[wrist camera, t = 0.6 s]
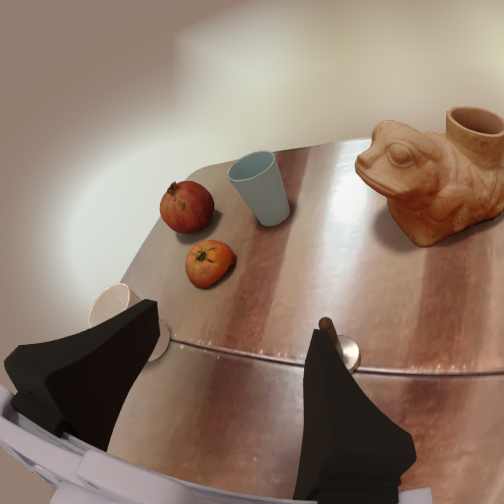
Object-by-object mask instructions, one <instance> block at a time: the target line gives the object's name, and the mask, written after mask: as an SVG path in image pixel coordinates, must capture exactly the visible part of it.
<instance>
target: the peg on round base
mask: <svg viewBox="0 0 504 504" xmlns="http://www.w3.org/2000/svg"><path fill="white" fill-rule="evenodd" d="M318 325H319V328H320V330H326V331H328V332H329V333H330V336H331V338H332V340H333V342H334V345H335V347H336V349H337V351H338V353H339V355H340V357H341V358H342V360H343V362H344V364H345V366H346V367H347V369H348V371H349V372H350V374H352V373H353V372H354V371H355V370H356V368H357V367H358V365H359V362H360V353H359V349H358V346H357V344H356V342H355V341H354V340H353V339H351V338H350V337H347V336H343V335H337V333H336V330H335V328H334V325H333V322H332V320H331V319H330V318H328V317H323V318H321V319H320V321H319V324H318Z"/></svg>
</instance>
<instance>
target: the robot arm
mask: <svg viewBox="0 0 504 504" xmlns="http://www.w3.org/2000/svg"><path fill="white" fill-rule="evenodd" d="M160 335H161V334H160V326H159V317H158V308H157V301H153V300H148V299H144V300H142V301H140V302H139V303H137V304H135V305H133V306H131V307H130V308H128V309H126V310H125V311H123V312H121V313H119V314H117V315H116V316H114V317H112V318H110V319H108V320H106V321H104V322H102V323H100V324H98V325H96V326H94V327H92V328H90V329H87V330H85V331H83V332H80V333H78V334H75V335H71V336H68V337H64V338H61V339H58V340H53V341H49V342H43V343H37V344H28V345H19V346H18V347H17V348H16V349H15V350H14V351H13V352H12V353H11V354H10V355H9V356H8V357H7V358H6V359H5V361H4V366H5V370H6V372H7V374H8V375H9V377H10V379H11V380H12V382H13V384H14V386H15V387H16V389H17V391H18V393H17V394H16V395H14V394H13V393H12V392H11V391H10V390H9V389H7V388H6V387H4V386H3V385H2V384H0V446H1V447H2V448H3V449H4V450H5V451H7V452H8V453H9V454H10V455H11V456H13V457H14V458H15V459H16V460H17V461H19V462H20V463H21V464H22V465H24V466H25V467H26V468H28V469H29V470H30V471H32V472H33V473H34V474H36V475H37V476H38V477H40V478H41V479H43V480H44V481H45V482H47V483H48V484H50V485H51V486H53V487H54V488H56V489H57V490H56V492H55V494H54V495H53V497H52V499H51V501H50V503H49V504H433V499H432V492H431V487H423V488H417V489H410V490H405V491H402V492H399V493H398V487H397V486H400V484H401V480H400V476H401V475H402V474H403V473H404V472H405V471H407V470H408V469H409V468H410V467H411V466H412V465H413V463H414V462H415V461H416V458H417V456H416V451H415V446H414V442H413V439H412V436H411V435H410V434H409V433H407V432H406V431H405V430H403V429H402V428H400V427H399V426H398V425H396V424H395V423H394V422H393V421H391V420H390V419H389V418H388V417H387V416H386V415H384V414H383V413H382V412H381V411H380V410H379V409H378V408H377V407H376V406H375V405H374V404H373V403H372V402H371V401H370V399H369V398H368V397H367V396H366V395H365V394H364V392H363V391H362V390H361V388H360V387H359V386H358V384H357V383H356V381H355V380H354V378H353V377H352V375H351V374H350V372H349V371H348V369H347V367H346V366H345V364H344V362H343V360H342V358H341V357H340V355H339V353H338V351H337V349H336V347H335V345H334V342H333V340H332V338H331V336H330V333H329V332H328V331H326V330H318V329H314V331H313V335H312V339H311V342H310V346H309V350H308V353H307V357H306V360H305V367H304V378H303V399H304V430H303V439H302V448H301V455H300V462H299V469H298V475H297V481H296V486H295V491H294V496H293V500H289V499H278V498H269V497H261V496H254V495H248V494H242V493H236V492H231V491H225V490H221V489H216V488H211V487H207V486H203V485H199V484H195V483H191V482H187V481H184V480H180V479H177V478H174V477H170V476H167V475H164V474H161V473H158V472H155V471H152V470H149V469H146V468H143V467H141V466H138V465H135V464H133V463H130V462H128V461H125V460H123V459H120V458H118V457H116V456H113V455H111V454H109V453H106V452H107V448H108V445H109V441H110V438H111V435H112V432H113V429H114V426H115V424H116V421H117V418H118V416H119V413H120V411H121V408H122V406H123V404H124V401H125V399H126V397H127V395H128V393H129V391H130V389H131V387H132V385H133V383H134V382H135V380H136V379H137V377H138V375H139V374H140V372H141V371H142V369H143V367H144V366H145V364H146V363H147V361H148V359H149V358H150V356H151V355H152V353H153V351H154V349H155V347H156V345H157V342H158V340H159V337H160Z"/></svg>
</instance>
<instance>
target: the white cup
mask: <svg viewBox="0 0 504 504" xmlns="http://www.w3.org/2000/svg"><path fill="white" fill-rule="evenodd" d="M140 301H142V300H141V299H140V298H139V297H138V296H137V295H136V294H135V293H134V292H133V291H132V290H131V289H130V288H129V287H128V286H127V285H126V284H124V283H116V284H113V285H111V286H109V287H108V288H107V289H105V290H104V291H103V292H102V293H101V294H100V295H99V296H98V298H97V299H96V300H95V302H94V304H93V306H92V308H91V310H90V313H89V318H88V323H89V327H90V328H92V327H94V326H96V325H98V324H100V323H102V322H104V321H106V320H108V319H110V318H112V317H114V316H116V315H117V314H119V313H121V312H123V311H125V310H126V309H128V308H130V307H131V306H133V305H135V304H137V303H139V302H140ZM159 326H160V334H161V335H160V337H159V340H158V342H157V345H156V347H155V349H154V351H153V353H152V355H151V356H150V358H149V359H148V361H149V362H151V361H153V360H155V359H157V358H159V357H160V356H161V355H162V354H163V353H164V352H165V351H166V348H167V346H168V344H169V342H170V332H169V329H168V327H167V326H166V325H165V324H164V323H163V322H162V321H161V320H160V319H159Z"/></svg>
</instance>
